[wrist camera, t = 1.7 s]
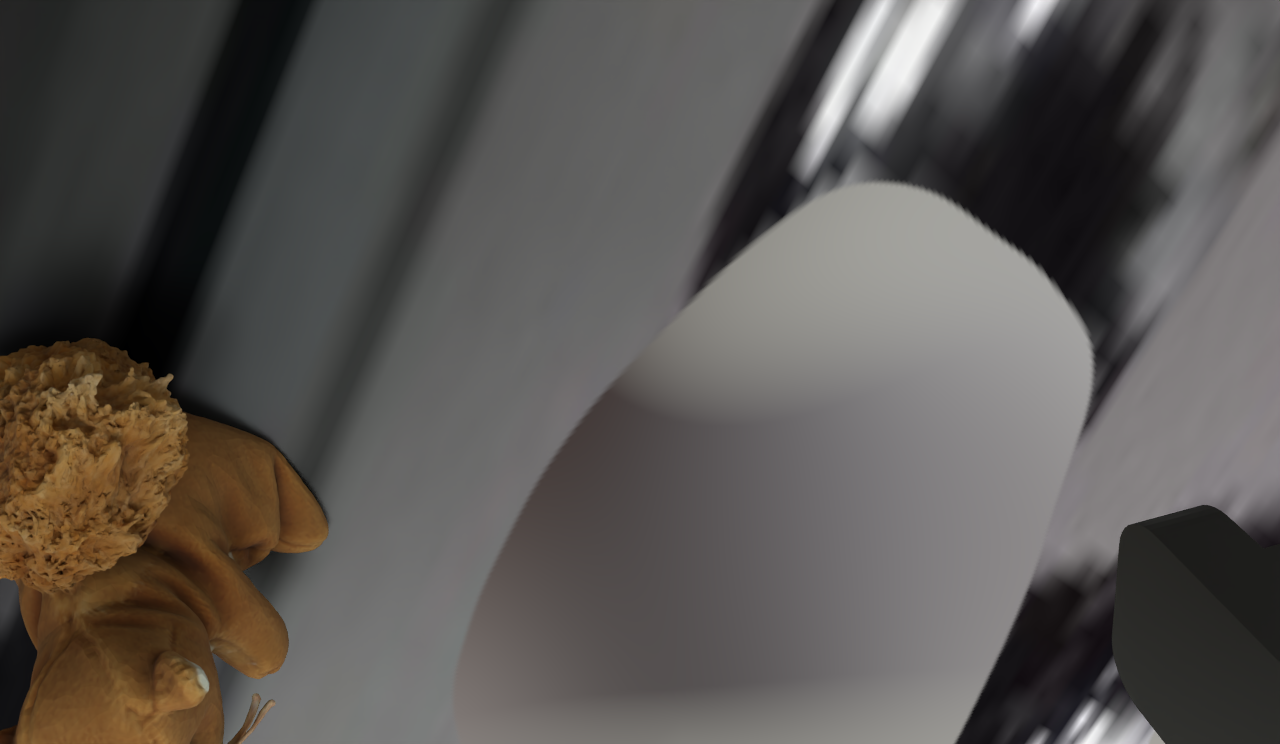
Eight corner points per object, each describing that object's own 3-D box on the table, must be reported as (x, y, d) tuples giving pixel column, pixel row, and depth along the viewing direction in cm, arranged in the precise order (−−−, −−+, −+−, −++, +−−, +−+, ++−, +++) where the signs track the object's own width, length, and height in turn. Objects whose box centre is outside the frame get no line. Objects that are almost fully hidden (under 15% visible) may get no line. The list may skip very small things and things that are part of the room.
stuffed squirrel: (101, 635, 42) (-10, 952, 31) (-105, 325, 35) (-348, 591, 24) (350, 560, 43) (331, 845, 31) (198, 239, 36) (102, 460, 24)
